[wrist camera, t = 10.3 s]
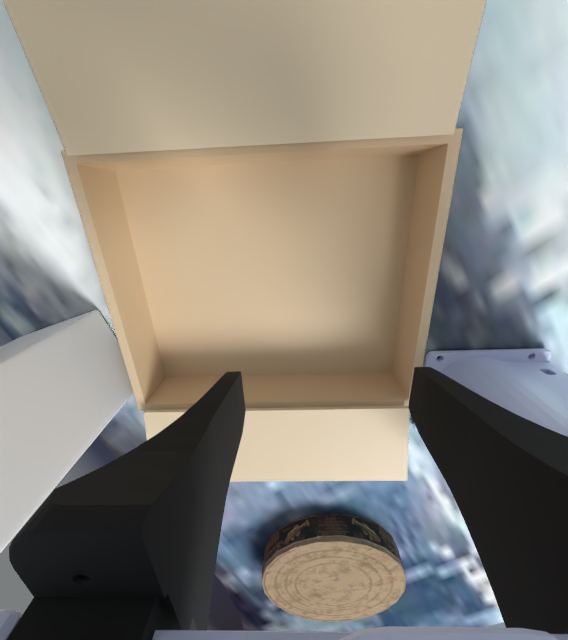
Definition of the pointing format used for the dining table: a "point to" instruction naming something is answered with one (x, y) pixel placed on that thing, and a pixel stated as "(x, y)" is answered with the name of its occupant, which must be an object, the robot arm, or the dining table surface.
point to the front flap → (246, 70)
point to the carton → (271, 265)
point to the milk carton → (53, 408)
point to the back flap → (315, 443)
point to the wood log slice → (332, 568)
